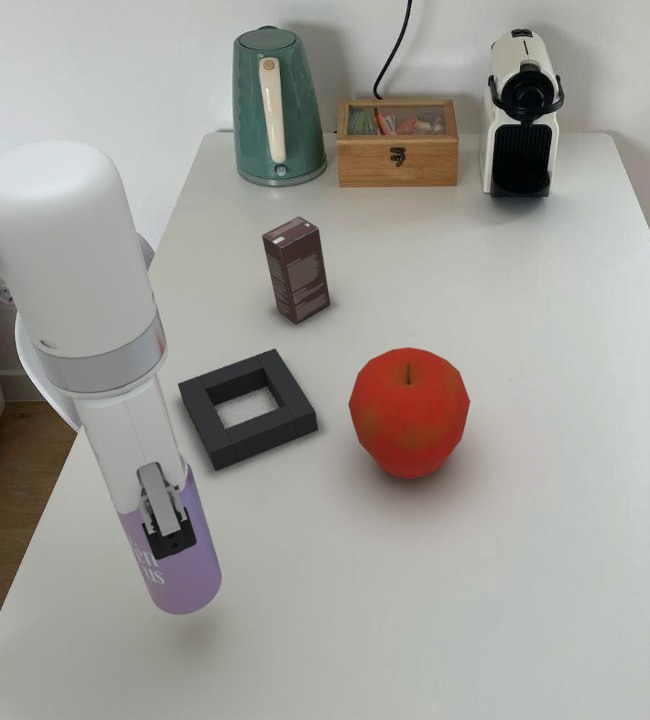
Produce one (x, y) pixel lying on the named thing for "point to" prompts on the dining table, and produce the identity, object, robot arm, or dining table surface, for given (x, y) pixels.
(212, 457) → the socket pad
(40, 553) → the dining table surface
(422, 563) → the dining table surface
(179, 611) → the beverage can
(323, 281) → the box
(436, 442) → the apple
